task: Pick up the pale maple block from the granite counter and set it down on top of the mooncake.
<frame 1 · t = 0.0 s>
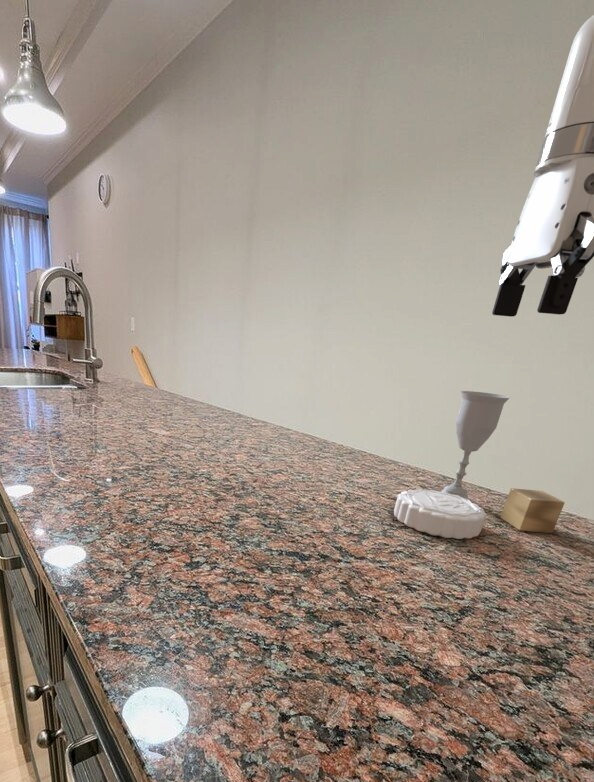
hand: (525, 314, 59), 29 cm above the table, tool pointing down, fingers open, 9 cm apart
mooncake: (434, 523, 67), on the table
chalice: (452, 500, 78), on the table
block: (525, 525, 69), on the table
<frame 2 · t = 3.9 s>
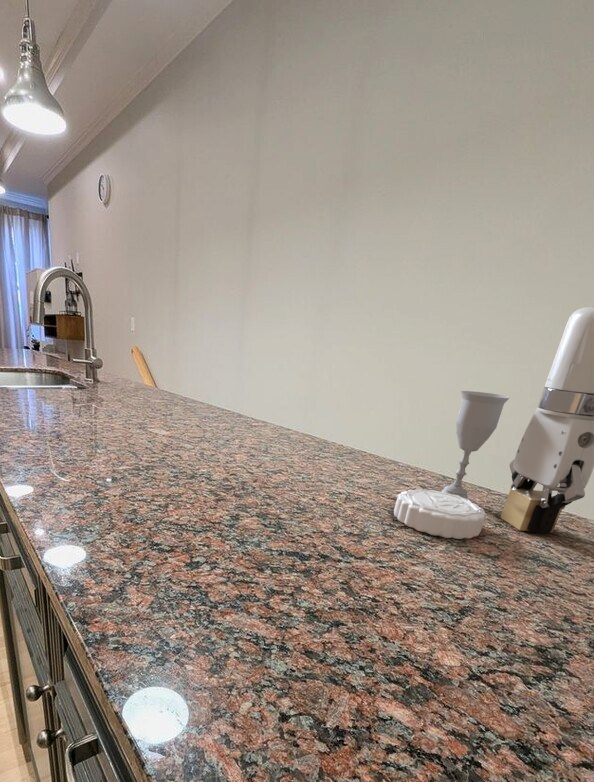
hand: (526, 522, 69), 0 cm above the table, tool pointing down, fingers closed on block, 5 cm apart
block: (525, 525, 69), on the table, touching gripper
everything else where it was.
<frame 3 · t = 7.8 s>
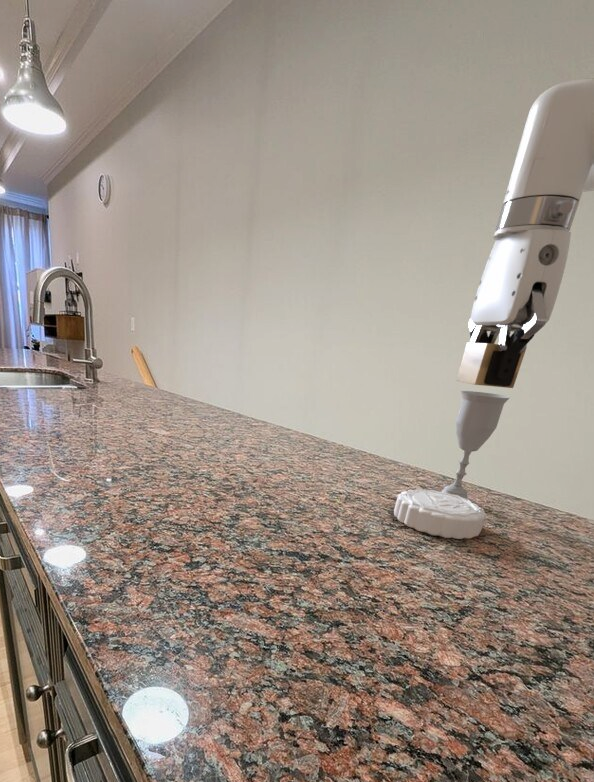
hand: (484, 381, 59), 21 cm above the table, tool pointing down, fingers closed on block, 5 cm apart
block: (483, 384, 60), point 20 cm above the table, touching gripper
everything else where it was.
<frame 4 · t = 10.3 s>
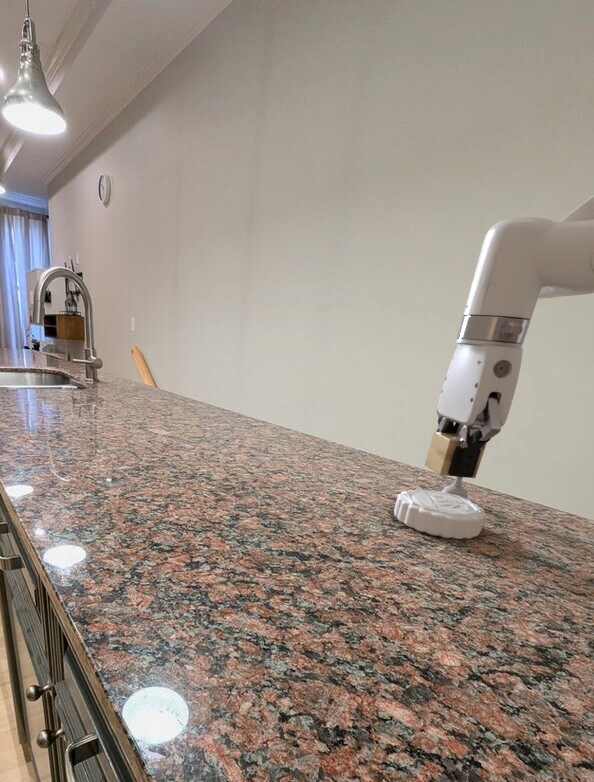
hand: (450, 468, 64), 8 cm above the table, tool pointing down, fingers closed on block, 5 cm apart
block: (448, 471, 64), point 8 cm above the table, touching gripper
everything else where it was.
when the fingers open (4 cm above the table, at t = 11.9 s): block stays where it is, resting on mooncake.
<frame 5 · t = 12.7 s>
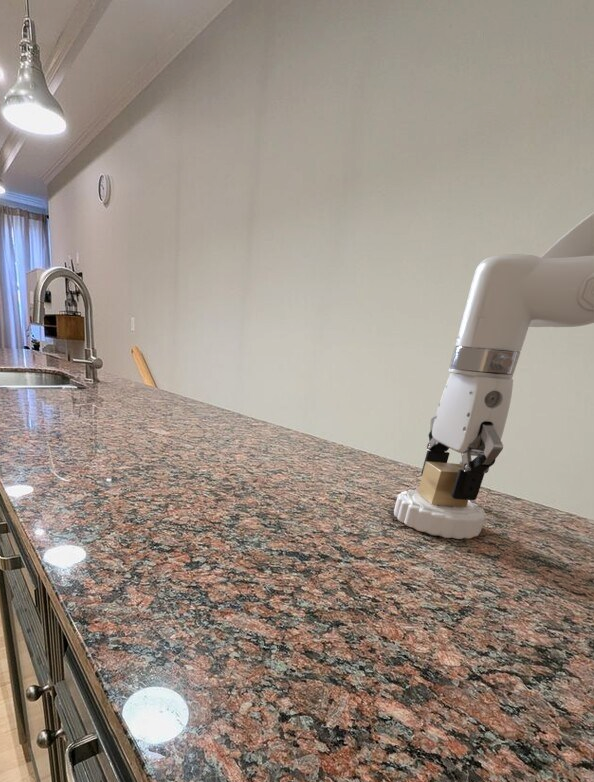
hand: (446, 487, 65), 6 cm above the table, tool pointing down, fingers open, 9 cm apart
mooncake: (434, 523, 67), on the table, touching block
block: (440, 499, 66), point 4 cm above the table, touching mooncake
everything else where it was.
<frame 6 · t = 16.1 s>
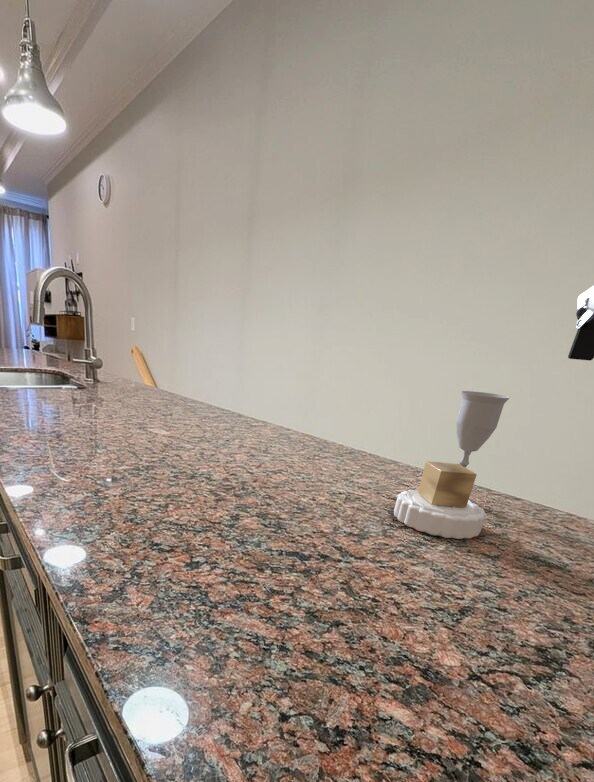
nothing on the table moved.
at the end: block inside the target area on the mooncake (0.1 cm from its centre), point 3.8 cm above the mooncake's base; block tilted 0°; the gripper is holding nothing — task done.
